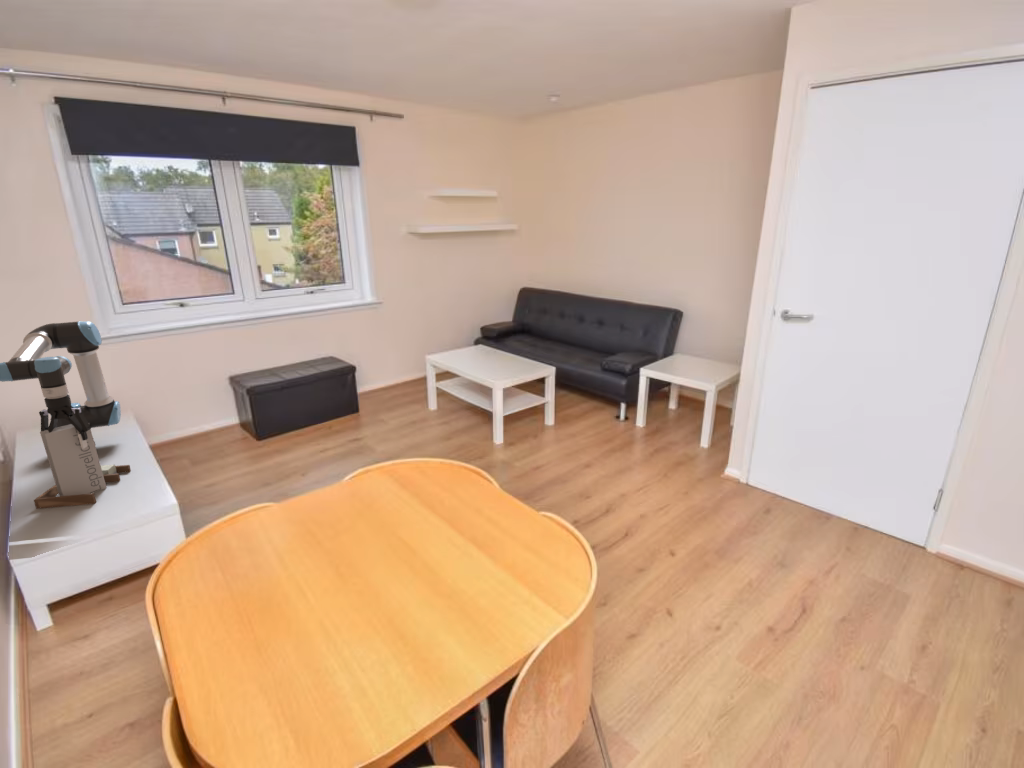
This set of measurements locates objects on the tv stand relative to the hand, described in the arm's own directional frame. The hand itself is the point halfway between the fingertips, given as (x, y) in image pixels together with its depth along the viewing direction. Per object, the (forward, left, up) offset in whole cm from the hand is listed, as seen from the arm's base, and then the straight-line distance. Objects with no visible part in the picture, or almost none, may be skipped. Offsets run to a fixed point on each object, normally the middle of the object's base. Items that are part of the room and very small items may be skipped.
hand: (71, 448), depth 205 cm
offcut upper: (-14, -2, -19) cm, 23 cm away
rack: (0, 0, -21) cm, 21 cm away
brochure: (0, 0, -21) cm, 21 cm away
